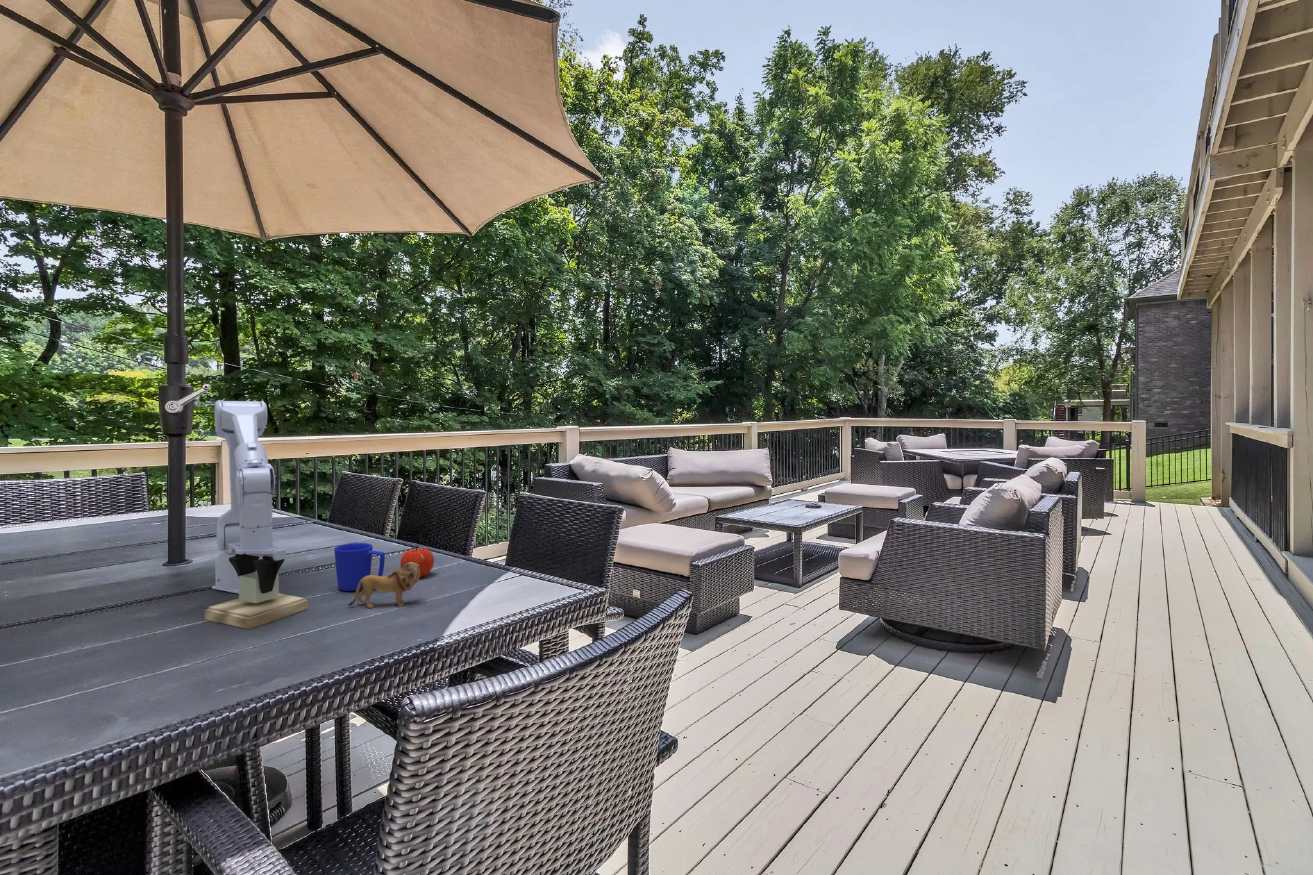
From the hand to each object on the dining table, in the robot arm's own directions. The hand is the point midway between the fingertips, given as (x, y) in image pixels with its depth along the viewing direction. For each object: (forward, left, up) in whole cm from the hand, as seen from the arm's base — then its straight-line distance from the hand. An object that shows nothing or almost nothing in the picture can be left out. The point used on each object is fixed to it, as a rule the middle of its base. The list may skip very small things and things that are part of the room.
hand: (257, 590), depth 131 cm
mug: (+5, +22, -5) cm, 23 cm away
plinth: (0, 0, -5) cm, 5 cm away
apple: (+9, +36, -5) cm, 37 cm away
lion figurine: (+19, +16, -5) cm, 25 cm away
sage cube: (0, 0, -2) cm, 2 cm away
